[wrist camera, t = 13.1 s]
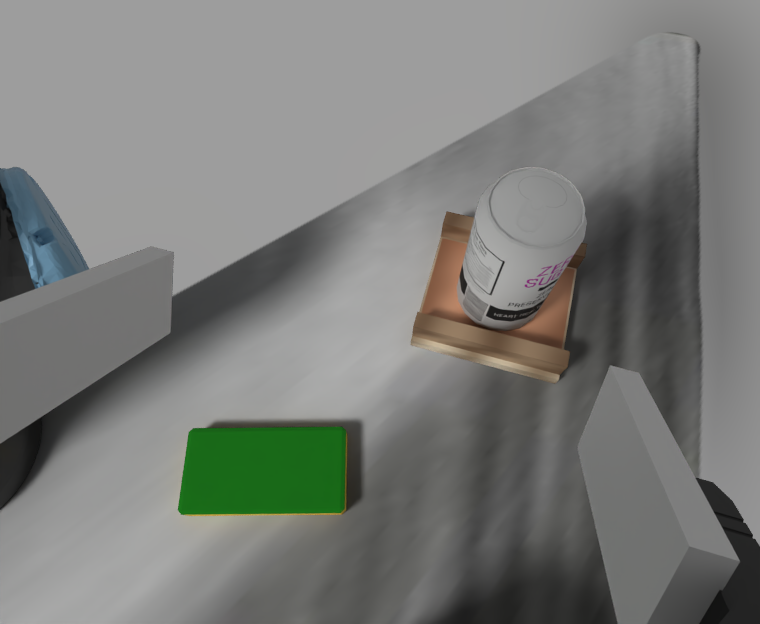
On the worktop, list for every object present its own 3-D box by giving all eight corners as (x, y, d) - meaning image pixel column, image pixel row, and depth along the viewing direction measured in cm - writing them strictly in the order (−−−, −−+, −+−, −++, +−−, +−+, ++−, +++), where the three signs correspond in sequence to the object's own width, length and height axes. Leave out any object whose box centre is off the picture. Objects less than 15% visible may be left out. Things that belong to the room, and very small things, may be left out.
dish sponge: (198, 433, 49) (189, 427, 46) (347, 431, 49) (345, 426, 46) (186, 516, 46) (176, 514, 44) (346, 514, 46) (344, 512, 43)
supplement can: (474, 246, 54) (503, 145, 40) (551, 278, 52) (608, 184, 39) (442, 311, 51) (460, 226, 38) (522, 347, 50) (572, 272, 36)
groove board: (410, 345, 51) (412, 331, 48) (444, 226, 57) (447, 207, 53) (555, 383, 49) (566, 372, 46) (575, 257, 55) (587, 239, 52)
